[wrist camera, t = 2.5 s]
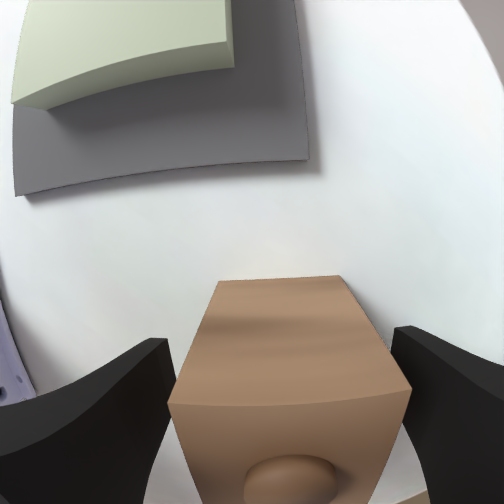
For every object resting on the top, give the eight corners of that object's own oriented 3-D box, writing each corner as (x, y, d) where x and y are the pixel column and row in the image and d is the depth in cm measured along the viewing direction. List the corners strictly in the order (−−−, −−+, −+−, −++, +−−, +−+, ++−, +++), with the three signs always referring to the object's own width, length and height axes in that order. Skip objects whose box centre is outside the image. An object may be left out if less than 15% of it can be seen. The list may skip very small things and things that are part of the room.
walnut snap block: (332, 382, 11) (367, 523, 5) (230, 386, 11) (206, 531, 5) (339, 274, 10) (423, 407, 4) (219, 280, 10) (158, 423, 4)
